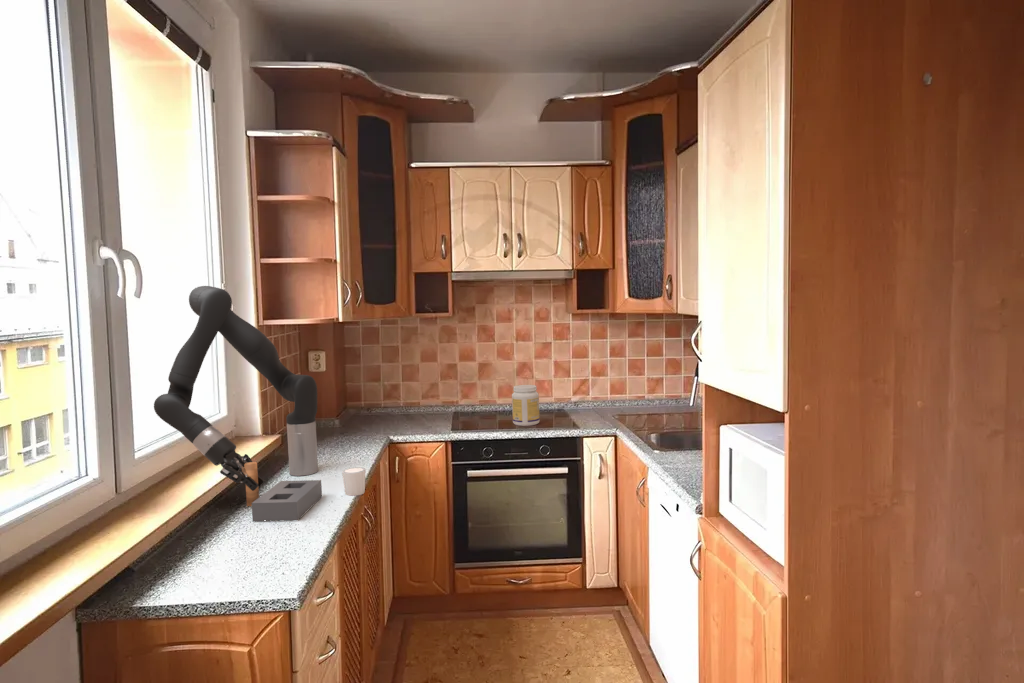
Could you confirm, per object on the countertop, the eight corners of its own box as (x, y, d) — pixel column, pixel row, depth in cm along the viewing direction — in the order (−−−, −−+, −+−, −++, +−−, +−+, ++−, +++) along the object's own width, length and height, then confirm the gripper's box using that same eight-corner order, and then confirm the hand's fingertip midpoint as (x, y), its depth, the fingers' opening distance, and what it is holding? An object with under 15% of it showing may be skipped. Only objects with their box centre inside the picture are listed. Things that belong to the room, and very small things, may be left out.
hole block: (281, 497, 188) (280, 481, 188) (322, 496, 188) (321, 480, 187) (252, 521, 168) (251, 503, 168) (297, 520, 168) (296, 502, 167)
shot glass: (342, 491, 192) (340, 468, 192) (365, 488, 195) (364, 465, 194) (344, 497, 186) (343, 474, 185) (368, 494, 188) (367, 471, 188)
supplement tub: (539, 420, 292) (538, 384, 290) (540, 426, 279) (539, 387, 278) (512, 421, 292) (511, 384, 291) (512, 426, 280) (511, 388, 279)
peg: (250, 502, 184) (247, 462, 183) (261, 502, 184) (259, 461, 183) (244, 506, 181) (242, 465, 180) (256, 506, 180) (253, 465, 180)
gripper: (210, 441, 174) (257, 484, 174) (234, 430, 188) (277, 470, 189) (192, 461, 174) (239, 503, 175) (217, 448, 188) (261, 488, 189)
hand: (259, 486), depth 182 cm, fingers closed on peg, 3 cm apart
